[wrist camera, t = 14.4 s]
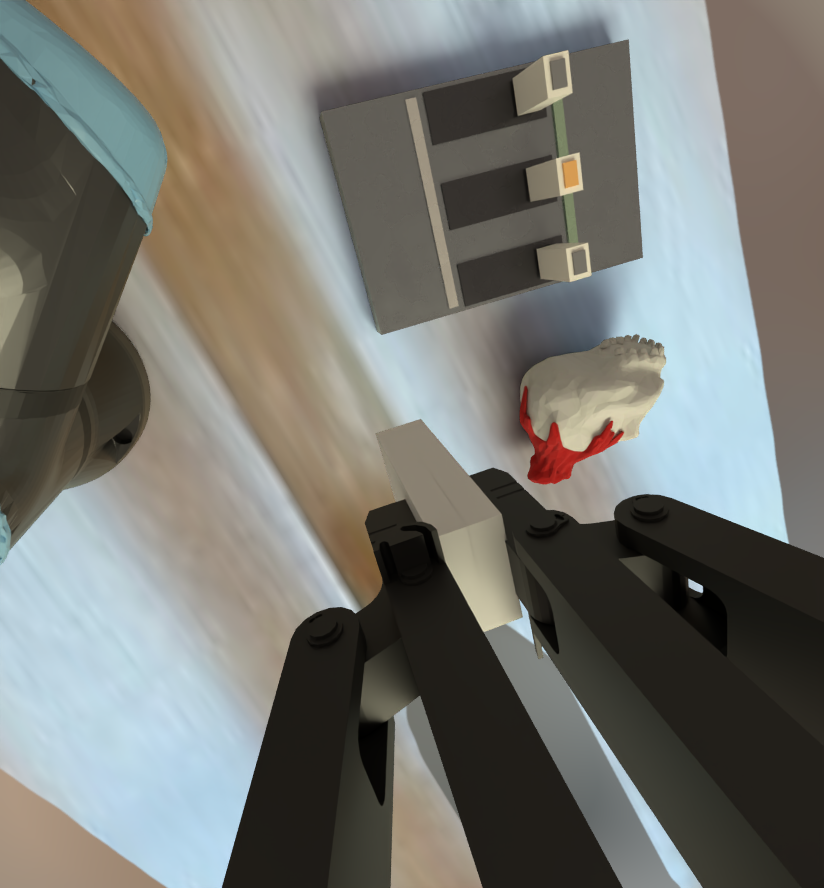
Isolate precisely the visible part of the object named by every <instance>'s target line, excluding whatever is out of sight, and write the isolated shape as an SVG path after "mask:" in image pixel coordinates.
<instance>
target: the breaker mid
mask: <svg viewBox="0 0 824 888" xmlns="http://www.w3.org/2000/svg"><path fill="white" fill-rule="evenodd" d="M526 174H527V181H528V188H529V195H530V202H532V201H537V200H542V199H548V198H553V197H558V196H562V195H566V194H570V193H573V192H577V191H581V190H583V182H582V172H581V163H580V153H575V154H571V155H568V156H564V157H560V158H556V159H553V160H550V161H547V162H544V163H541V164H538V165H535V166H532V167H529V168H526Z"/></svg>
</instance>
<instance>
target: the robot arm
mask: <svg viewBox="0 0 824 888" xmlns="http://www.w3.org/2000/svg"><path fill="white" fill-rule="evenodd" d="M166 167H167V152H166V148H165V145H164V142H163V138H162V135H161V132H160V130H159V128H158V126H157V124H156V122H155V121H154V119H153V118H152V116H151V115H150V114H149V112H148V111H147V110H146V109H145V107H144V106H143V105H142V104H141V103H140V101H139V100H138V99H137V98H136V97H135V96H134V95H133V94H132V93H131V92H130V91H129V90H128V89H127V88H126V87H125V86H124V85H123V84H122V83H121V82H120V81H119V80H118V79H117V78H116V77H115V76H114V75H113V74H112V73H111V72H110V71H109V70H108V69H107V68H106V67H104V66H103V65H102V64H101V63H100V62H99V61H98V60H97V59H96V58H94V57H93V56H92V55H91V54H90V53H89V52H88V51H87V50H85V49H84V48H83V47H82V46H81V45H80V44H78V43H77V42H76V41H75V40H74V39H72V38H71V37H70V36H69V35H68V34H67V33H65V32H64V31H63V30H62V29H61V28H59V27H58V26H57V25H56V24H54V23H53V22H52V21H51V20H50V19H48V18H47V17H46V16H45V15H43V14H42V13H41V12H40V11H38V10H37V9H36V8H35V7H33V6H32V5H31V4H29V3H28V2H27V1H26V0H0V565H1V564H2V563H3V562H4V561H5V559H6V557H7V555H8V552H9V550H10V549H11V548H12V547H13V546H14V545H15V544H16V543H17V541H18V540H19V539H20V538H21V537H22V536H23V535H24V534H25V532H26V531H27V530H28V529H29V528H30V527H31V526H32V524H33V523H34V522H35V521H36V520H37V519H38V518H39V517H40V515H41V514H42V513H43V512H44V511H45V510H46V509H47V508H48V506H49V505H50V504H51V503H52V502H53V501H54V500H55V498H56V497H57V496H58V495H59V494H60V493H61V492H62V491H63V490H65V489H69V488H73V487H76V486H80V485H83V484H86V483H88V482H90V481H93V480H95V479H97V478H99V477H101V476H102V475H104V474H105V473H107V472H109V471H110V470H111V469H113V468H114V467H115V466H116V465H118V464H119V463H120V462H121V461H122V460H123V459H124V458H125V457H126V456H127V454H128V453H129V452H130V451H131V449H132V448H133V447H134V445H135V444H136V442H137V441H138V439H139V438H140V436H141V434H142V432H143V430H144V428H145V425H146V423H147V419H148V416H149V410H150V386H149V380H148V376H147V373H146V370H145V367H144V365H143V362H142V360H141V358H140V356H139V354H138V352H137V351H136V349H135V347H134V346H133V344H132V343H131V341H130V340H129V339H128V338H127V336H126V335H125V334H124V333H123V332H122V331H121V330H120V329H119V327H117V326H116V325H115V324H114V323H113V322H112V319H113V316H114V314H115V311H116V308H117V306H118V303H119V300H120V298H121V295H122V292H123V289H124V287H125V284H126V281H127V279H128V276H129V273H130V271H131V268H132V265H133V263H134V260H135V257H136V255H137V252H138V249H139V247H140V244H141V241H142V239H143V236H148V235H149V234H150V233H151V231H152V227H153V226H152V224H153V219H152V212H153V209H154V206H155V203H156V199H157V196H158V193H159V190H160V187H161V184H162V181H163V178H164V174H165V171H166ZM376 436H377V440H378V443H379V447H380V450H381V453H382V457H383V460H384V464H385V467H386V470H387V474H388V477H389V480H390V484H391V487H392V491H393V494H394V497H395V501H396V502H395V503H392V504H389V505H386V506H383V507H380V508H377V509H374V510H371V511H369V513H368V516H367V519H366V521H365V525H366V528H367V531H368V534H369V538H370V541H371V544H372V547H373V550H374V555H375V558H376V561H377V564H378V567H379V570H380V573H381V576H382V581H383V584H382V588H381V590H380V592H379V594H378V595H377V597H376V598H375V599H374V600H373V601H372V602H371V603H370V604H369V605H367V606H366V607H365V608H363V609H362V610H360V611H359V612H357V613H356V614H355V613H354V612H353V611H352V610H349V609H346V608H343V607H337V608H328V609H325V610H322V611H319V612H317V613H315V614H313V615H312V616H310V617H308V618H307V619H305V620H304V621H303V622H302V623H301V624H300V625H299V626H298V627H297V628H296V630H295V632H294V634H293V636H292V638H291V641H290V645H289V648H288V652H287V656H286V659H285V663H284V666H283V670H282V673H281V677H280V681H279V684H278V688H277V691H276V695H275V699H274V702H273V706H272V709H271V713H270V717H269V720H268V724H267V727H266V731H265V735H264V738H263V742H262V745H261V749H260V753H259V756H258V760H257V763H256V767H255V771H254V774H253V778H252V781H251V785H250V788H249V792H248V796H247V799H246V803H245V806H244V810H243V814H242V817H241V821H240V824H239V828H238V832H237V835H236V839H235V842H234V846H233V850H232V853H231V857H230V860H229V864H228V868H227V871H226V875H225V878H224V882H223V885H222V888H390V886H391V850H392V813H393V777H394V741H395V721H394V715H395V714H396V713H397V712H399V711H400V710H401V709H403V708H404V707H405V706H407V705H408V704H409V703H411V702H412V701H413V700H414V699H416V698H417V697H418V696H421V699H422V702H423V705H424V708H425V711H426V714H427V717H428V720H429V724H430V727H431V730H432V733H433V736H434V739H435V742H436V745H437V748H438V751H439V754H440V757H441V760H442V764H443V767H444V770H445V772H446V776H447V779H448V782H449V785H450V788H451V791H452V794H453V797H454V800H455V804H456V807H457V810H458V813H459V816H460V819H461V822H462V825H463V828H464V831H465V834H466V837H467V841H468V844H469V847H470V850H471V853H472V856H473V859H474V862H475V865H476V868H477V871H478V874H479V878H480V881H481V884H482V887H483V888H623V887H622V886H621V884H620V882H619V880H618V878H617V876H616V875H615V873H614V871H613V869H612V867H611V865H610V863H609V862H608V860H607V858H606V856H605V854H604V853H603V851H602V849H601V847H600V845H599V843H598V841H597V840H596V838H595V836H594V834H593V832H592V831H591V829H590V827H589V825H588V823H587V821H586V819H585V818H584V816H583V814H582V812H581V810H580V809H579V807H578V805H577V803H576V801H575V799H574V798H573V796H572V794H571V792H570V790H569V788H568V786H567V785H566V783H565V781H564V779H563V777H562V775H561V773H560V772H559V770H558V768H557V766H556V764H555V762H554V761H553V759H552V757H551V755H550V753H549V752H548V750H547V748H546V746H545V744H544V742H543V741H542V739H541V737H540V735H539V733H538V731H537V729H536V728H535V726H534V724H533V722H532V720H531V718H530V717H529V715H528V713H527V711H526V709H525V707H524V706H523V704H522V702H521V700H520V698H519V696H518V695H517V693H516V691H515V689H514V687H513V685H512V683H511V682H510V680H509V678H508V676H507V674H506V673H505V671H504V669H503V667H502V665H501V663H500V662H499V660H498V658H497V656H496V654H495V652H494V650H493V649H492V647H491V645H490V643H489V641H488V639H487V638H486V636H485V634H484V632H485V631H488V630H490V629H493V628H496V627H498V626H501V625H503V624H506V623H509V622H511V621H514V620H517V619H519V618H522V617H523V616H522V611H521V606H520V601H521V602H522V603H523V605H524V606H525V608H526V609H527V611H528V614H529V619H530V624H531V629H532V634H533V639H534V644H535V649H536V653H537V656H538V659H541V658H543V653H542V646H543V648H544V649H545V651H546V652H547V654H548V655H549V657H550V658H551V660H552V661H553V663H554V664H555V666H556V668H557V669H558V670H559V672H560V674H561V675H562V677H563V678H564V680H565V681H566V683H567V684H568V686H569V687H570V689H571V690H572V692H573V693H574V695H575V696H576V698H577V699H578V701H579V702H580V704H581V705H582V707H583V708H584V710H585V711H586V713H587V714H588V716H589V717H590V719H591V720H592V722H593V723H594V725H595V726H596V728H597V729H598V731H599V732H600V734H601V735H602V737H603V738H604V740H605V741H606V743H607V744H608V746H609V747H610V749H611V750H612V752H613V753H614V755H615V756H616V758H617V759H618V761H619V762H620V764H621V765H622V767H623V768H624V770H625V771H626V773H627V774H628V776H629V777H630V779H631V780H632V782H633V783H634V785H635V786H636V788H637V789H638V791H639V792H640V794H641V795H642V797H643V798H644V800H645V801H646V803H647V804H648V806H649V807H650V809H651V810H652V812H653V813H654V815H655V816H656V818H657V819H658V821H659V822H660V824H661V825H662V827H663V828H664V830H665V832H666V833H667V835H668V836H669V838H670V839H671V841H672V842H673V844H674V845H675V847H676V848H677V850H678V851H679V853H680V854H681V856H682V857H683V859H684V860H685V862H686V863H687V865H688V866H689V868H690V869H691V871H692V872H693V874H694V875H695V877H696V878H697V880H698V881H699V883H700V884H701V886H702V887H703V888H824V558H823V557H820V556H818V555H815V554H812V553H810V552H807V551H805V550H802V549H800V548H797V547H794V546H792V545H790V544H787V543H784V542H782V541H779V540H777V539H774V538H772V537H769V536H767V535H764V534H762V533H759V532H756V531H754V530H751V529H749V528H746V527H744V526H741V525H739V524H736V523H734V522H731V521H728V520H726V519H723V518H721V517H718V516H716V515H713V514H711V513H708V512H706V511H703V510H700V509H698V508H695V507H693V506H690V505H688V504H685V503H683V502H680V501H678V500H675V499H672V498H669V497H665V496H661V495H649V494H644V495H637V496H633V497H630V498H628V499H625V500H623V501H621V502H620V503H619V504H618V505H617V506H616V508H615V511H614V519H615V520H613V521H606V522H599V523H591V524H579V523H578V522H577V521H576V520H575V519H574V518H573V517H571V516H569V515H568V514H566V513H564V512H560V511H556V510H546V509H545V508H544V507H543V506H542V505H541V504H540V503H539V502H538V501H536V500H535V499H534V498H533V497H532V496H531V495H530V494H529V493H528V492H527V491H526V490H524V488H523V487H522V486H521V485H520V484H519V483H517V482H516V480H515V479H514V478H513V477H512V476H511V475H510V474H508V473H507V472H504V471H501V470H498V469H495V468H491V469H488V470H485V471H482V472H479V473H476V474H473V475H470V476H469V475H468V474H467V473H466V472H465V470H464V469H463V468H462V467H461V466H460V465H459V463H458V462H457V461H456V460H455V459H454V458H453V456H452V455H451V454H450V453H449V452H448V450H447V449H446V448H445V447H444V446H443V445H442V443H441V442H440V441H439V440H438V439H437V438H436V436H435V435H434V434H433V433H432V432H431V430H430V429H429V428H428V427H427V426H426V425H425V423H424V422H423V421H422V420H421V419H419V420H416V421H413V422H410V423H407V424H404V425H401V426H398V427H394V428H391V429H388V430H385V431H382V432H379V433H376ZM688 578H689V579H690V580H692V581H694V582H696V583H698V584H700V585H702V586H703V593H700V592H697V591H695V590H693V589H691V588H689V586H688ZM519 599H520V601H519Z"/></svg>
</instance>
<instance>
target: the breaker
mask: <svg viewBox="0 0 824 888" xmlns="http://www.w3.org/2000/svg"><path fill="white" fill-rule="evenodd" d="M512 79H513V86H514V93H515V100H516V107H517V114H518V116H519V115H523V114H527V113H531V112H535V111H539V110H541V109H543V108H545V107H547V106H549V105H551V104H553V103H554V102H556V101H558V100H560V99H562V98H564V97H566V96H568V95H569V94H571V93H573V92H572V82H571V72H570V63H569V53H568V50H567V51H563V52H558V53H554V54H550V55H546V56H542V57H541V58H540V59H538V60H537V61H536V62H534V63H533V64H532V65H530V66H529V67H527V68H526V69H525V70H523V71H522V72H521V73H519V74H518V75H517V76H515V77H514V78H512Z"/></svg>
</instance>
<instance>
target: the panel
mask: <svg viewBox="0 0 824 888" xmlns="http://www.w3.org/2000/svg"><path fill="white" fill-rule="evenodd" d="M535 62H536V61H535ZM533 63H534V62H530V63H526V64H522V65H518V66H513V67H509V68H505V69H501V70H496V71H492V72H488V73H484V74H479V75H475V76H471V77H467V78H462V79H458V80H454V81H450V82H445V83H441V84H437V85H432V86H428V87H424V88H420V89H415V90H411V91H407V92H403V93H398V94H394V95H390V96H386V97H381V98H377V99H373V100H369V101H364V102H360V103H356V104H352V105H347V106H343V107H339V108H335V109H330V110H326V111H322V112H321V115H320V122H321V126H322V129H323V133H324V137H325V140H326V144H327V148H328V152H329V155H330V159H331V163H332V166H333V170H334V174H335V177H336V181H337V185H338V189H339V192H340V196H341V200H342V203H343V207H344V211H345V214H346V218H347V222H348V225H349V229H350V233H351V237H352V240H353V244H354V248H355V251H356V255H357V259H358V262H359V266H360V270H361V274H362V277H363V281H364V285H365V288H366V292H367V296H368V299H369V303H370V307H371V310H372V314H373V318H374V322H375V325H376V329H377V332H378V333H380V334H381V335H383V334H386V333H389V332H393V331H396V330H400V329H403V328H406V327H410V326H413V325H416V324H420V323H423V322H427V321H430V320H433V319H437V318H440V317H444V316H447V315H450V314H454V313H457V312H460V311H464V310H467V309H471V308H474V307H477V306H481V305H484V304H488V303H491V302H494V301H498V300H501V299H504V298H508V297H511V296H515V295H518V294H521V293H525V292H528V291H531V290H535V289H538V288H542V287H545V286H548V285H552V284H555V283H559V282H562V281H556V280H546V279H541V277H540V270H539V263H538V256H537V249H539V248H542V247H546V246H549V245H553V244H556V243H588V246H589V256H590V266H591V273H592V272H596V271H599V270H602V269H606V268H609V267H613V266H616V265H619V264H623V263H626V262H630V261H633V260H636V259H640V258H643V253H642V237H641V222H640V207H639V191H638V176H637V161H636V145H635V130H634V115H633V99H632V84H631V69H630V53H629V39H628V40H624V41H620V42H616V43H611V44H607V45H603V46H599V47H594V48H590V49H586V50H582V51H577V52H573V53H569V63H570V72H571V82H572V92H573V93H571V94H569V95H568V96H566V97H564V98H562V99H560V100H558V101H556V102H554V103H553V104H551V105H549V106H547V107H545V108H543V109H541V110H539V111H535V112H531V113H527V114H523V115H519V116H518V114H517V107H516V100H515V93H514V86H513V79H512V78H514V77H515V76H517V75H518V74H519V73H521V72H522V71H523V70H525V69H526V68H527V67H529V66H530V65H532V64H533ZM575 153H580V163H581V172H582V182H583V190H581V191H577V192H573V193H570V194H566V195H562V196H558V197H553V198H548V199H542V200H537V201H532V202H530V195H529V188H528V181H527V174H526V168H529V167H532V166H535V165H538V164H541V163H544V162H547V161H550V160H553V159H556V158H560V157H564V156H568V155H571V154H575Z"/></svg>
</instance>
